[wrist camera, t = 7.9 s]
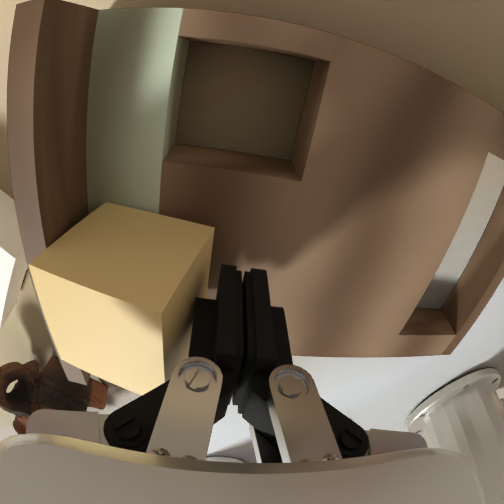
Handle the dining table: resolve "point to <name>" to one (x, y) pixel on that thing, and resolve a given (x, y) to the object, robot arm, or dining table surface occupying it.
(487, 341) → the dining table surface
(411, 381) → the dining table surface
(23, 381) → the pottery mug
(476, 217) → the dining table surface
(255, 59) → the dining table surface
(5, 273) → the bracket
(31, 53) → the box
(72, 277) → the block
